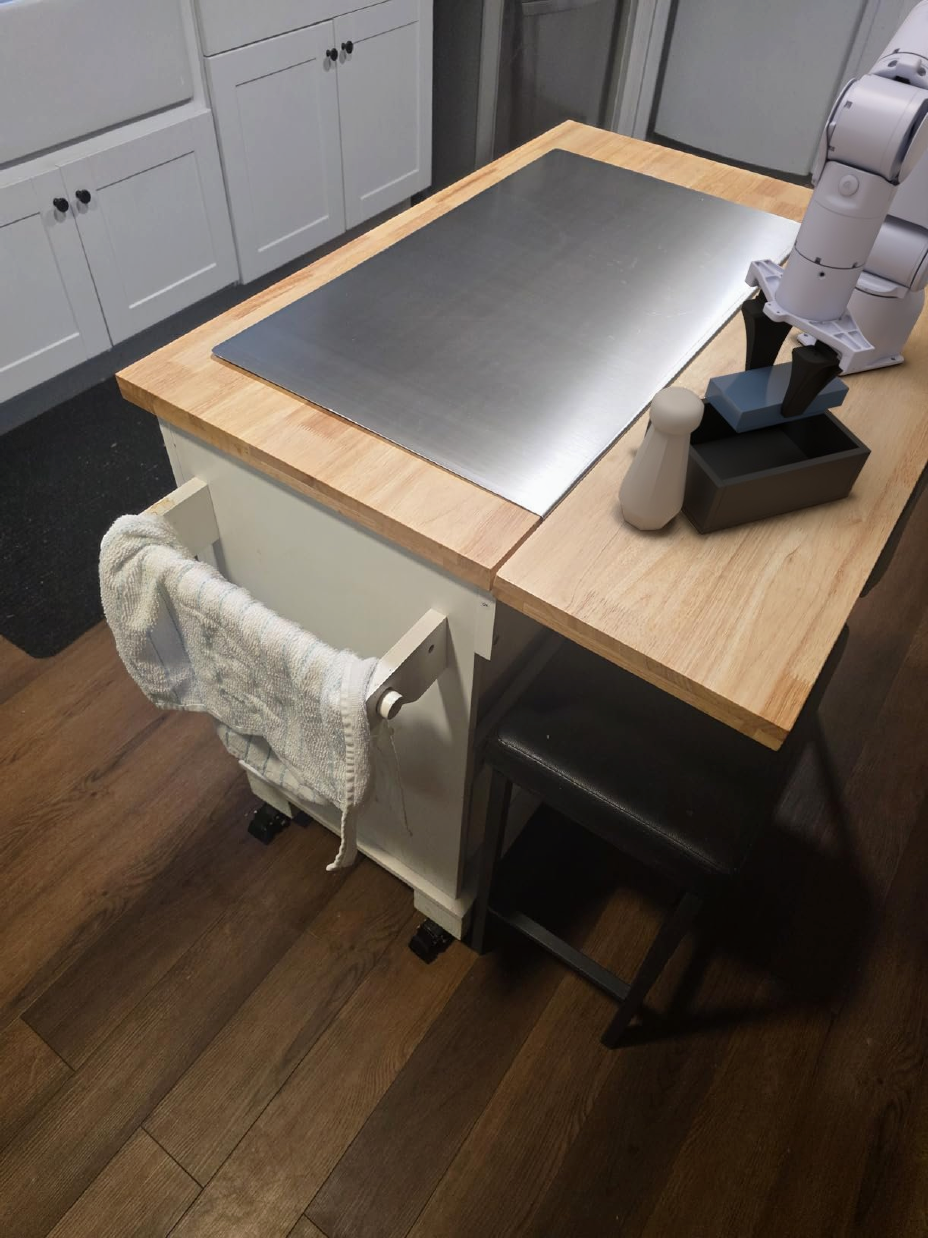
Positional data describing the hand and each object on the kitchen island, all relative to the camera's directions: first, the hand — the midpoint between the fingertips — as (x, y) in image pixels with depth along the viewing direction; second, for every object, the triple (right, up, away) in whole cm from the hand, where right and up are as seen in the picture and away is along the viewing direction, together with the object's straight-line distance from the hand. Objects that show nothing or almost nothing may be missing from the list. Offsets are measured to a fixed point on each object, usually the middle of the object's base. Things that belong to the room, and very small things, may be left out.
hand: (772, 395), depth 79 cm
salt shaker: (-11, -11, +1) cm, 16 cm away
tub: (-1, -6, +5) cm, 9 cm away
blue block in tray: (0, -1, +1) cm, 2 cm away
